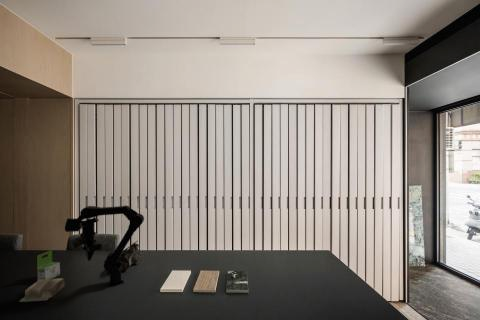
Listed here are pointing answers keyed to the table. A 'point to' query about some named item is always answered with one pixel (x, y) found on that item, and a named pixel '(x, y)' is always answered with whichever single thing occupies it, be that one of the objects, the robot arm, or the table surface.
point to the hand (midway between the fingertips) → (89, 260)
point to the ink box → (47, 267)
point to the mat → (33, 299)
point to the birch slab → (44, 288)
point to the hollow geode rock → (130, 256)
